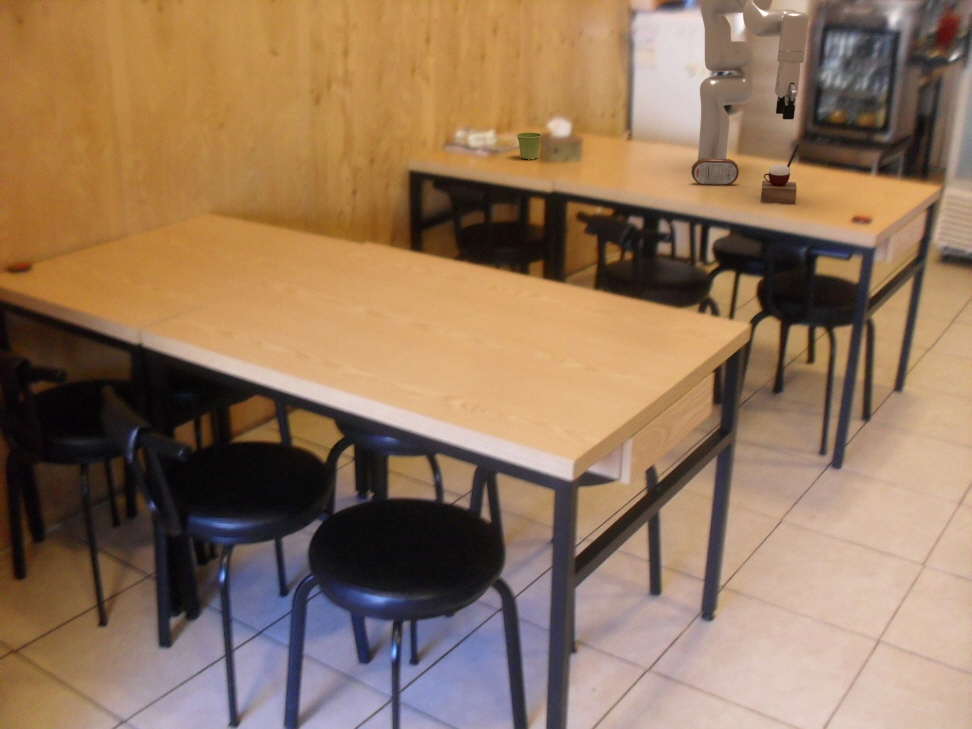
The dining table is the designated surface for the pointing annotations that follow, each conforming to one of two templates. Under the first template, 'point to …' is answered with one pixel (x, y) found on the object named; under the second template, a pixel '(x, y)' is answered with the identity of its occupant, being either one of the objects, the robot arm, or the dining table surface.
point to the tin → (715, 171)
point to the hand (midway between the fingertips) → (784, 116)
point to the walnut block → (778, 193)
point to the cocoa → (780, 172)
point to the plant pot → (529, 144)
